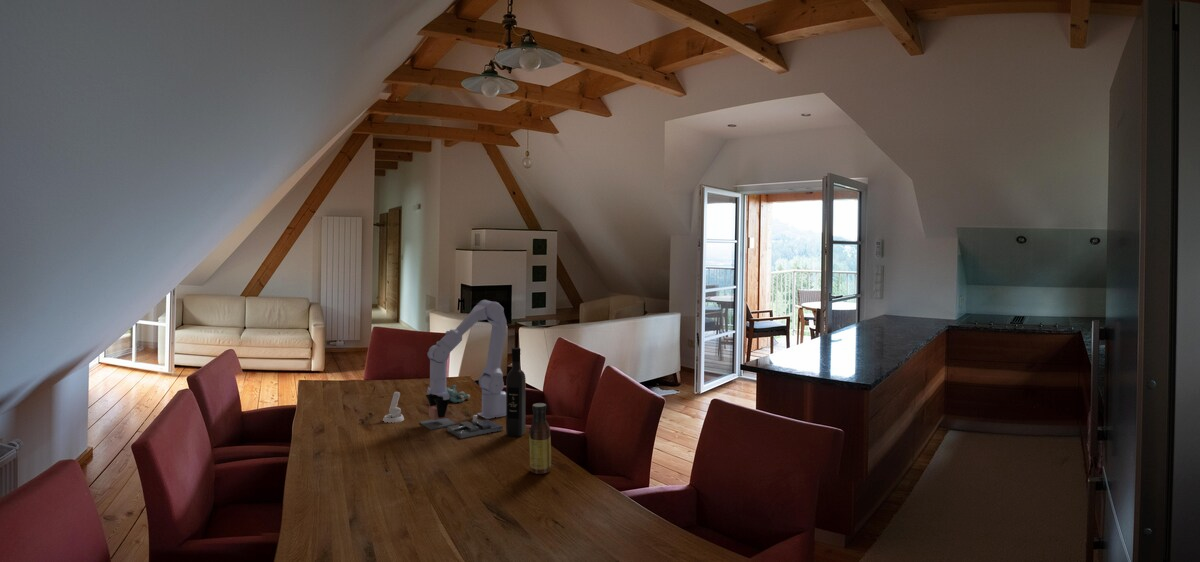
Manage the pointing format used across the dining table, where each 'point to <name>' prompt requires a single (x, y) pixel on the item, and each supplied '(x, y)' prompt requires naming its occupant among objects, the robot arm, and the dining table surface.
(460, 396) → the stuffed animal
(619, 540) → the dining table surface
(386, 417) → the hook
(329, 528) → the dining table surface
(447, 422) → the mat
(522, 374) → the wine bottle
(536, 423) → the sauce bottle
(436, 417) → the collar block
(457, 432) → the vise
